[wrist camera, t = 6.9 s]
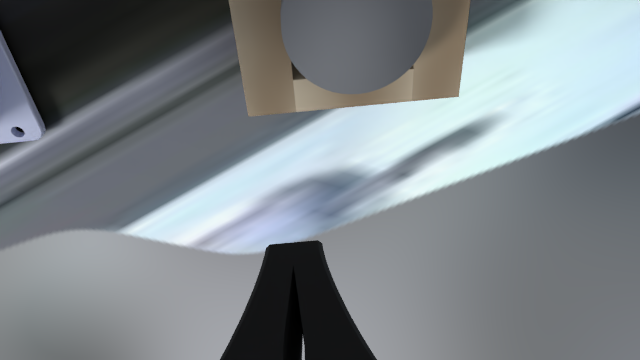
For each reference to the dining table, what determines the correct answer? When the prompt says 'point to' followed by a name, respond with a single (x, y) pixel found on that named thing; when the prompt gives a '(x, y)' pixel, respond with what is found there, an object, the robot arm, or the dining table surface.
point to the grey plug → (354, 40)
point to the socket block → (302, 95)
